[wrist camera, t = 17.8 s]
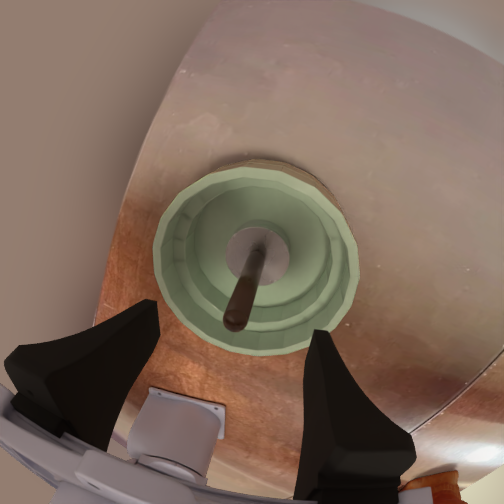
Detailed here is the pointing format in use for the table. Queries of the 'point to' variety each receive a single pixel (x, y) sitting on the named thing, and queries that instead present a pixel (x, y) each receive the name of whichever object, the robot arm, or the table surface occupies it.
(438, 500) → the ceramic vessel
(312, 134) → the table surface
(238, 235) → the peg on round base
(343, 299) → the bowl
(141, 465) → the robot arm
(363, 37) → the table surface
